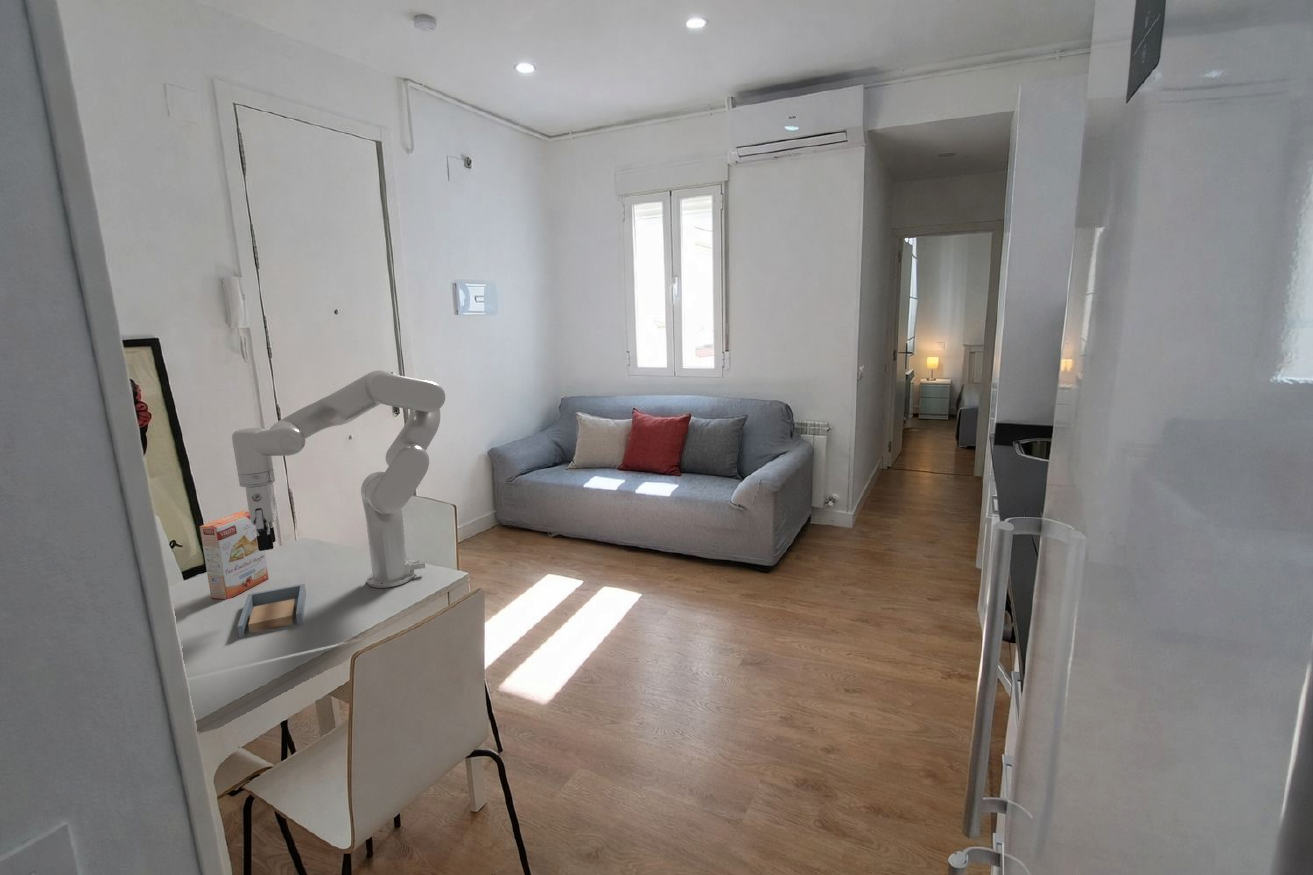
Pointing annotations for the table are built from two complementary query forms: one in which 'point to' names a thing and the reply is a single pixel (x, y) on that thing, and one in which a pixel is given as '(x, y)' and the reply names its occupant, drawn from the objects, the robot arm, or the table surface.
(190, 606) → the table surface
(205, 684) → the table surface
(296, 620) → the blue-grey open-ended tray
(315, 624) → the table surface
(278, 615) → the tan square slab
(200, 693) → the table surface
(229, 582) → the cracker box
